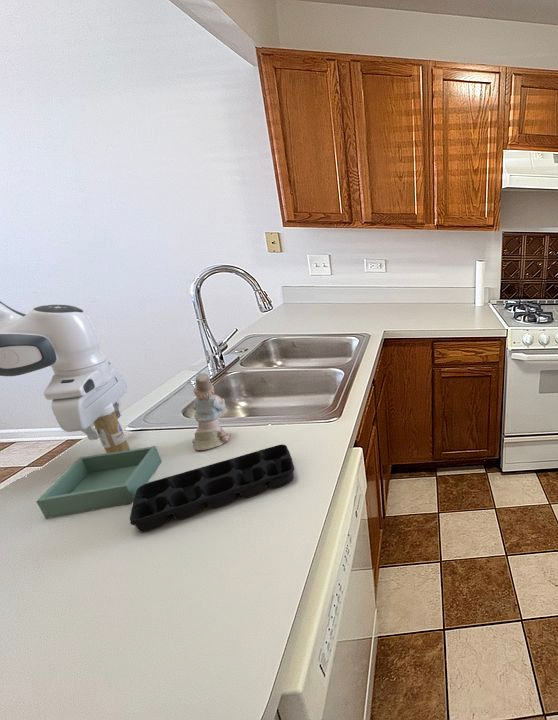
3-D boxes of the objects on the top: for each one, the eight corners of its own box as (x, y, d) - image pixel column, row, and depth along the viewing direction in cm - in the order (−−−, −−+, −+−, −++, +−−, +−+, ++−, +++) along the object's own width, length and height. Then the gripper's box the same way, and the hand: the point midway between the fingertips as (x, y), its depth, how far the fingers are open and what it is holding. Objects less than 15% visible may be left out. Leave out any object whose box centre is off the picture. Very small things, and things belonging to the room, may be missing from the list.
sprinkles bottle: (132, 453, 98) (112, 406, 93) (107, 461, 95) (86, 413, 90) (130, 445, 101) (111, 399, 96) (106, 453, 98) (85, 406, 93)
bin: (45, 518, 78) (35, 501, 77) (87, 473, 91) (79, 457, 90) (133, 502, 82) (126, 485, 81) (161, 461, 95) (156, 445, 94)
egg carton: (128, 505, 82) (121, 491, 80) (278, 445, 101) (275, 433, 100) (140, 556, 70) (133, 540, 69) (307, 477, 90) (304, 464, 88)
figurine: (226, 448, 100) (205, 377, 92) (188, 453, 98) (164, 380, 90) (237, 430, 108) (219, 362, 100) (203, 433, 106) (181, 365, 98)
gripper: (93, 359, 98) (112, 408, 103) (37, 396, 80) (64, 453, 85) (124, 357, 100) (141, 405, 105) (76, 392, 82) (99, 448, 87)
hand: (106, 427), depth 95 cm, fingers open, 8 cm apart
